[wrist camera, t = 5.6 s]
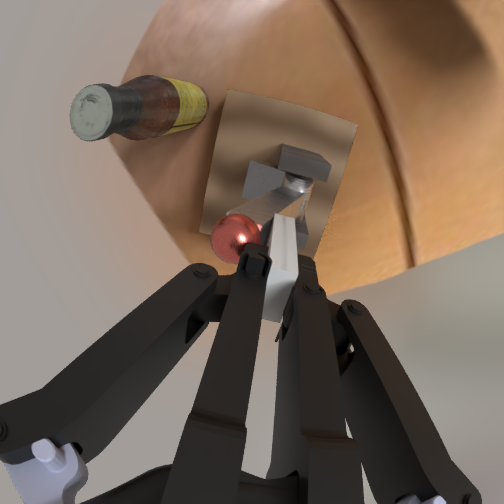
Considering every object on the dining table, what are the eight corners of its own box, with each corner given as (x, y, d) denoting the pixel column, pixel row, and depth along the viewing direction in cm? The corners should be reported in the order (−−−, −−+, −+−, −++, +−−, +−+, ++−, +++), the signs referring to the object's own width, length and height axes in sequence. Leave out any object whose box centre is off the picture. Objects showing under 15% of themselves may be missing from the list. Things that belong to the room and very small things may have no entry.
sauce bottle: (190, 74, 30) (99, 43, 12) (220, 107, 31) (152, 99, 14) (154, 108, 32) (47, 115, 14) (183, 140, 34) (91, 172, 16)
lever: (258, 157, 29) (148, 178, 15) (320, 177, 27) (258, 217, 13) (248, 195, 31) (143, 245, 17) (307, 217, 29) (238, 292, 15)
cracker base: (232, 91, 30) (210, 80, 20) (350, 123, 31) (381, 127, 20) (205, 222, 39) (178, 262, 28) (310, 248, 39) (318, 297, 29)
